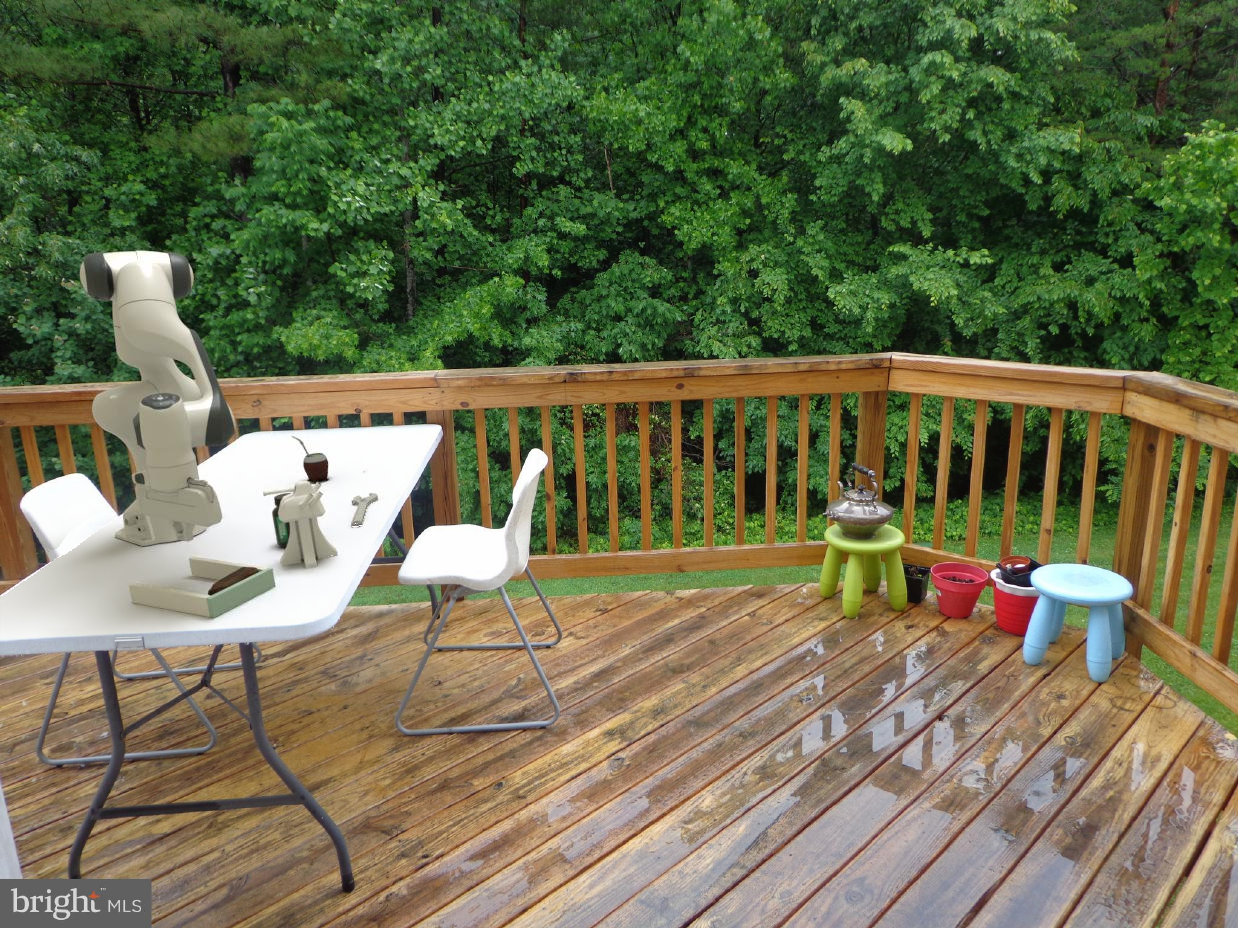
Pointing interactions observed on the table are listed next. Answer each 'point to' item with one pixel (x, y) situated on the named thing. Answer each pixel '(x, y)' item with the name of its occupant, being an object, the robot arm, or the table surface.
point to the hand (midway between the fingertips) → (185, 539)
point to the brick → (232, 579)
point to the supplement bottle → (280, 524)
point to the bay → (201, 602)
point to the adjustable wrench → (362, 507)
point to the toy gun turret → (303, 524)
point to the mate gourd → (315, 465)
